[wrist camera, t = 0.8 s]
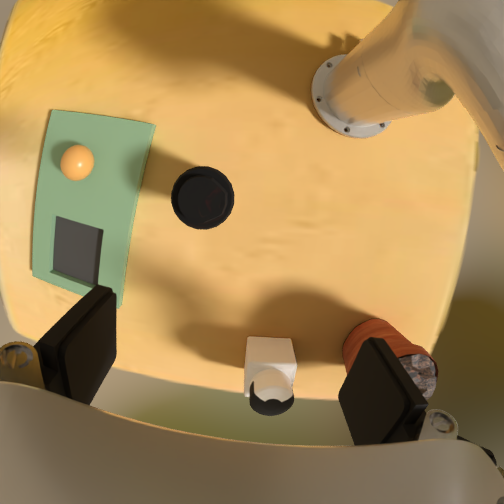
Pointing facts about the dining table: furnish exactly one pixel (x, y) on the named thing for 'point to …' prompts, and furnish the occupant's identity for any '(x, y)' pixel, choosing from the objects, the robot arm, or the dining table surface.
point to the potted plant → (407, 353)
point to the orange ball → (77, 162)
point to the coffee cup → (202, 197)
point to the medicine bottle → (269, 374)
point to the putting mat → (88, 202)
